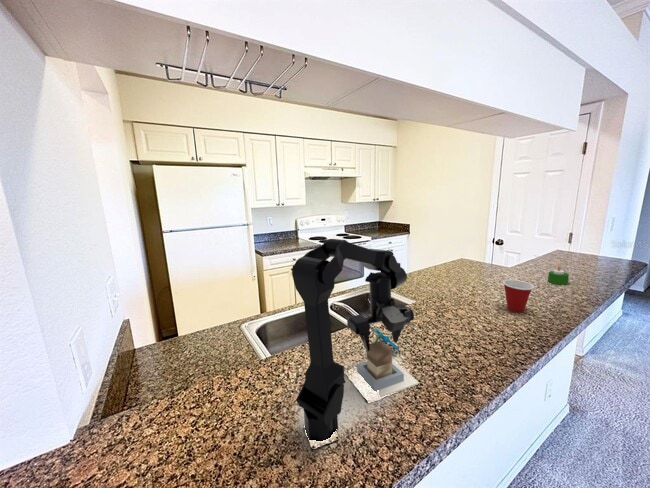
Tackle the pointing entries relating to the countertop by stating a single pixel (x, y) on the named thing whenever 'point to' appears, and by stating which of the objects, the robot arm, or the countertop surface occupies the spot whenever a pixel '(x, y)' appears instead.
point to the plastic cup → (517, 294)
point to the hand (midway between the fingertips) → (381, 346)
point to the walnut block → (379, 354)
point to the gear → (384, 339)
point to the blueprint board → (388, 379)
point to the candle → (558, 277)
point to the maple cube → (379, 370)
